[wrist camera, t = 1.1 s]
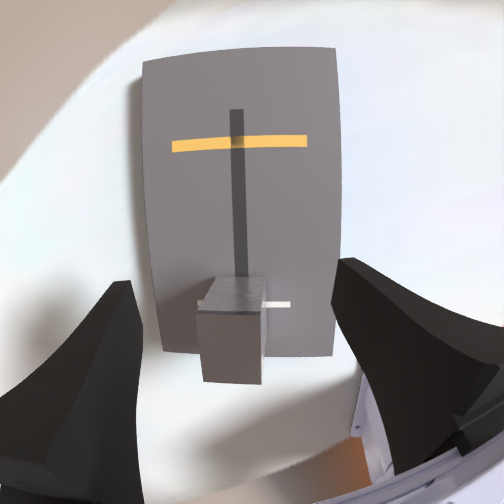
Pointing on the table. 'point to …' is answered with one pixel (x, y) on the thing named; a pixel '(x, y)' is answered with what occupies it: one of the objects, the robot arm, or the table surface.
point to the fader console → (244, 188)
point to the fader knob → (233, 330)
